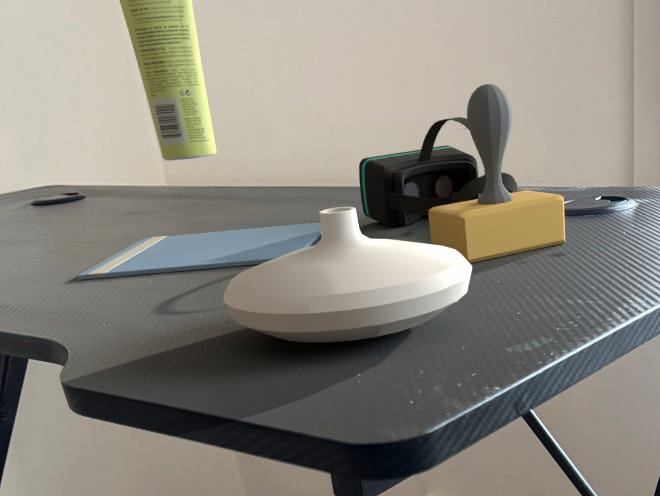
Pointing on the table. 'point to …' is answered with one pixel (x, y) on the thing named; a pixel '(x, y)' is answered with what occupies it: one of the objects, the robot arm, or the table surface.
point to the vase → (347, 286)
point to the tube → (172, 75)
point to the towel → (206, 250)
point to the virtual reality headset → (420, 180)
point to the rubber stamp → (496, 195)
